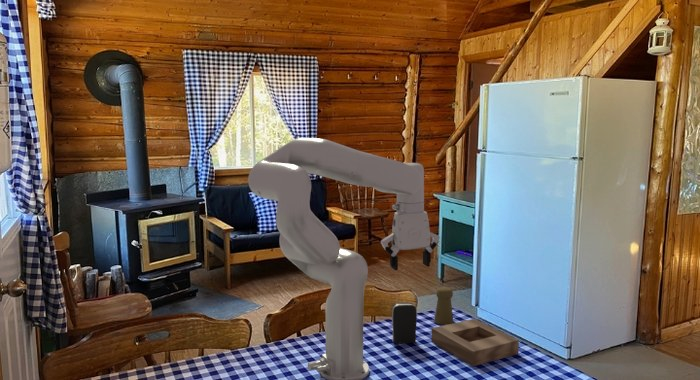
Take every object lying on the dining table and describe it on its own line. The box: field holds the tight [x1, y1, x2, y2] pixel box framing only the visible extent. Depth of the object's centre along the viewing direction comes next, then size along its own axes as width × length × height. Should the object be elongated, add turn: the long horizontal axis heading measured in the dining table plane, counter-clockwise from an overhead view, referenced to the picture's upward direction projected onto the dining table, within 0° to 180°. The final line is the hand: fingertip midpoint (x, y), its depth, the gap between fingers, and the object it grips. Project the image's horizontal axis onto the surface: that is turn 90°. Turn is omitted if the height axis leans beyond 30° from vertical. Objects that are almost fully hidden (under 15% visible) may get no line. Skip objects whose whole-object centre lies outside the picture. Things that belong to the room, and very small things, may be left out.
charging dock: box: [431, 318, 520, 367], centre depth 152 cm, size 16×18×4 cm
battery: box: [391, 301, 418, 344], centre depth 155 cm, size 7×4×11 cm, turn 94°
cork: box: [433, 286, 454, 326], centre depth 171 cm, size 6×6×11 cm
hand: (410, 267), depth 152 cm, fingers open, 9 cm apart
